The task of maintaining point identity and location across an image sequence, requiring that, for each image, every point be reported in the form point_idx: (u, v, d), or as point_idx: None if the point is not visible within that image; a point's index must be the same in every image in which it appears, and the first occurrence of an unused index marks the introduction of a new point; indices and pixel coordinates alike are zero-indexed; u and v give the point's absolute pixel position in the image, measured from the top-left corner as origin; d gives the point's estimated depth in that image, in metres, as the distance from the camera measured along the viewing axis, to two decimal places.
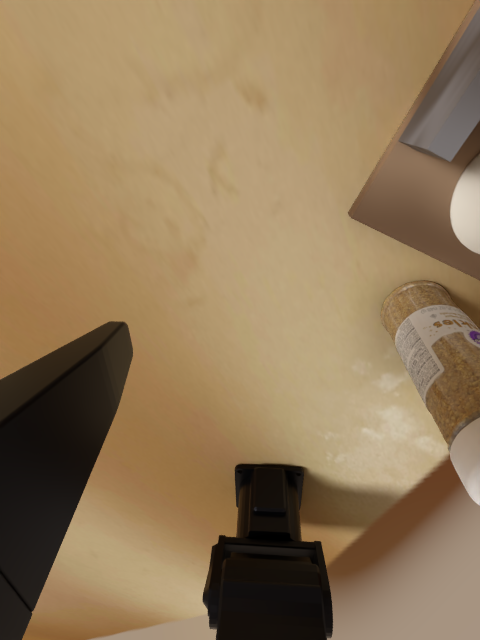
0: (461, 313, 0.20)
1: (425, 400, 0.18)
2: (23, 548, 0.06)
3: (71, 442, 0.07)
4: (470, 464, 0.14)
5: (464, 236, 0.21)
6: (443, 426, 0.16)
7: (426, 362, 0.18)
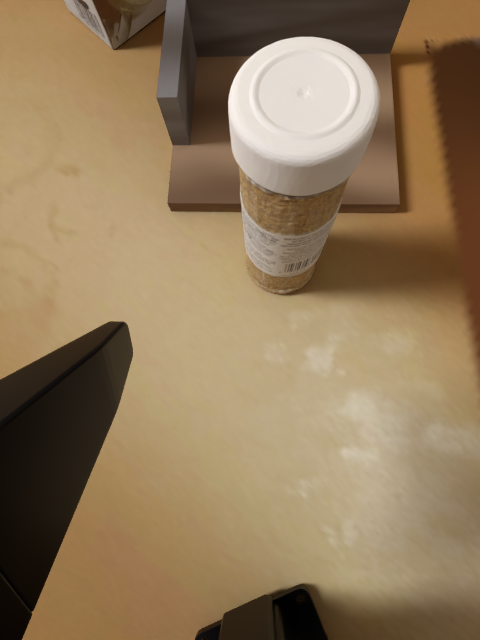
0: None
1: (251, 219, 0.15)
2: (23, 548, 0.06)
3: (71, 442, 0.07)
4: (230, 123, 0.11)
5: None
6: (245, 184, 0.13)
7: None
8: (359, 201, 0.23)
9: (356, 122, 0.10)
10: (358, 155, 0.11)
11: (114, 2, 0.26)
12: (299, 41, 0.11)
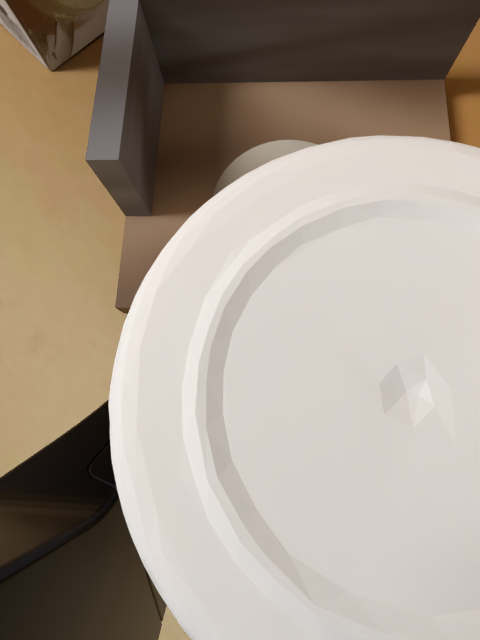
0: None
1: None
2: None
3: None
4: None
5: None
6: None
7: None
8: None
9: None
10: None
11: (43, 5, 0.18)
12: (379, 159, 0.03)
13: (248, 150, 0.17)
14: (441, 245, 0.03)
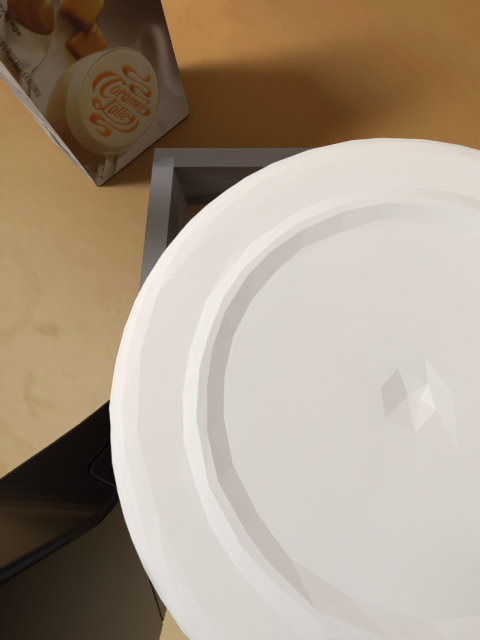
0: None
1: None
2: None
3: None
4: None
5: None
6: None
7: None
8: None
9: None
10: None
11: (97, 150, 0.23)
12: (380, 162, 0.03)
13: None
14: (443, 248, 0.03)
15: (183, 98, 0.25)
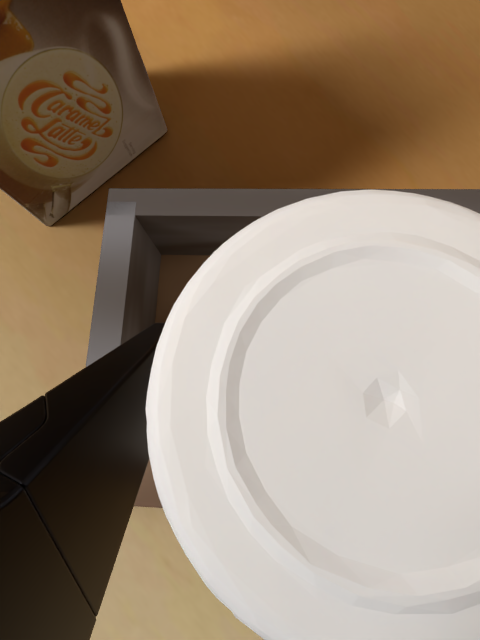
0: None
1: None
2: (91, 552, 0.06)
3: (130, 445, 0.07)
4: None
5: None
6: None
7: None
8: None
9: None
10: None
11: (40, 184, 0.18)
12: (364, 211, 0.04)
13: None
14: (413, 282, 0.03)
15: (157, 112, 0.19)
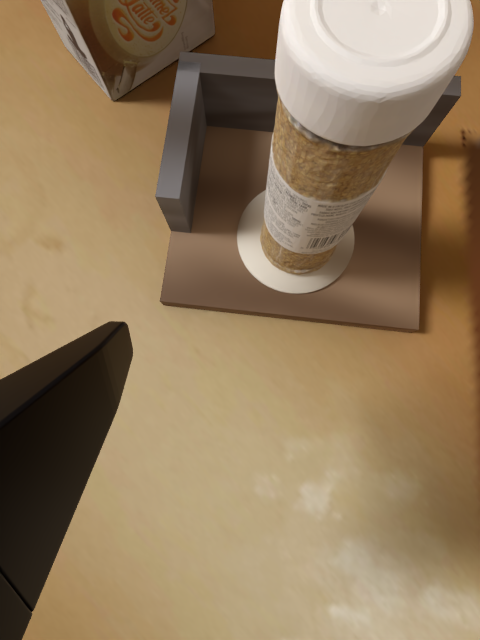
0: None
1: (282, 178, 0.13)
2: (23, 548, 0.06)
3: (71, 442, 0.07)
4: (281, 40, 0.09)
5: (272, 282, 0.21)
6: (284, 131, 0.11)
7: None
8: (374, 321, 0.21)
9: (444, 49, 0.08)
10: (436, 97, 0.09)
11: (116, 55, 0.22)
12: None
13: None
14: None
15: (211, 13, 0.24)
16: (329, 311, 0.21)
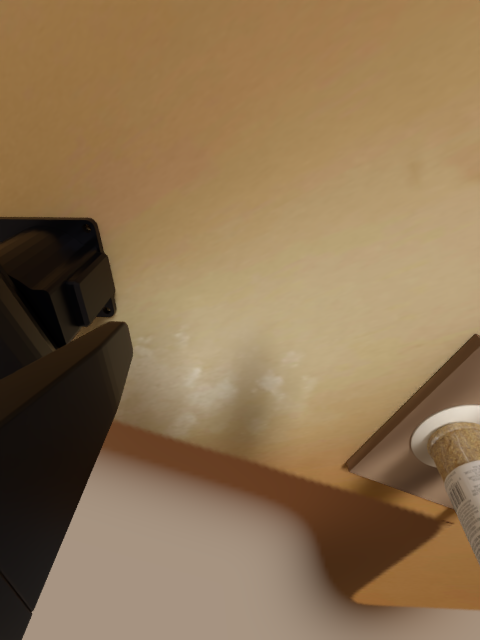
0: None
1: None
2: (23, 548, 0.06)
3: (71, 442, 0.07)
4: None
5: (438, 417, 0.26)
6: None
7: None
8: (368, 455, 0.29)
9: None
10: None
11: None
12: None
13: None
14: None
15: None
16: (392, 437, 0.28)
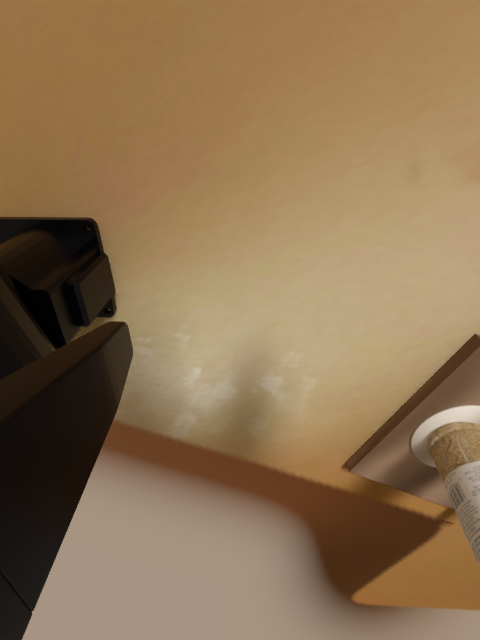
0: None
1: None
2: (23, 548, 0.06)
3: (71, 442, 0.07)
4: None
5: (438, 417, 0.26)
6: None
7: None
8: (368, 455, 0.29)
9: None
10: None
11: None
12: None
13: None
14: None
15: None
16: (392, 437, 0.28)
